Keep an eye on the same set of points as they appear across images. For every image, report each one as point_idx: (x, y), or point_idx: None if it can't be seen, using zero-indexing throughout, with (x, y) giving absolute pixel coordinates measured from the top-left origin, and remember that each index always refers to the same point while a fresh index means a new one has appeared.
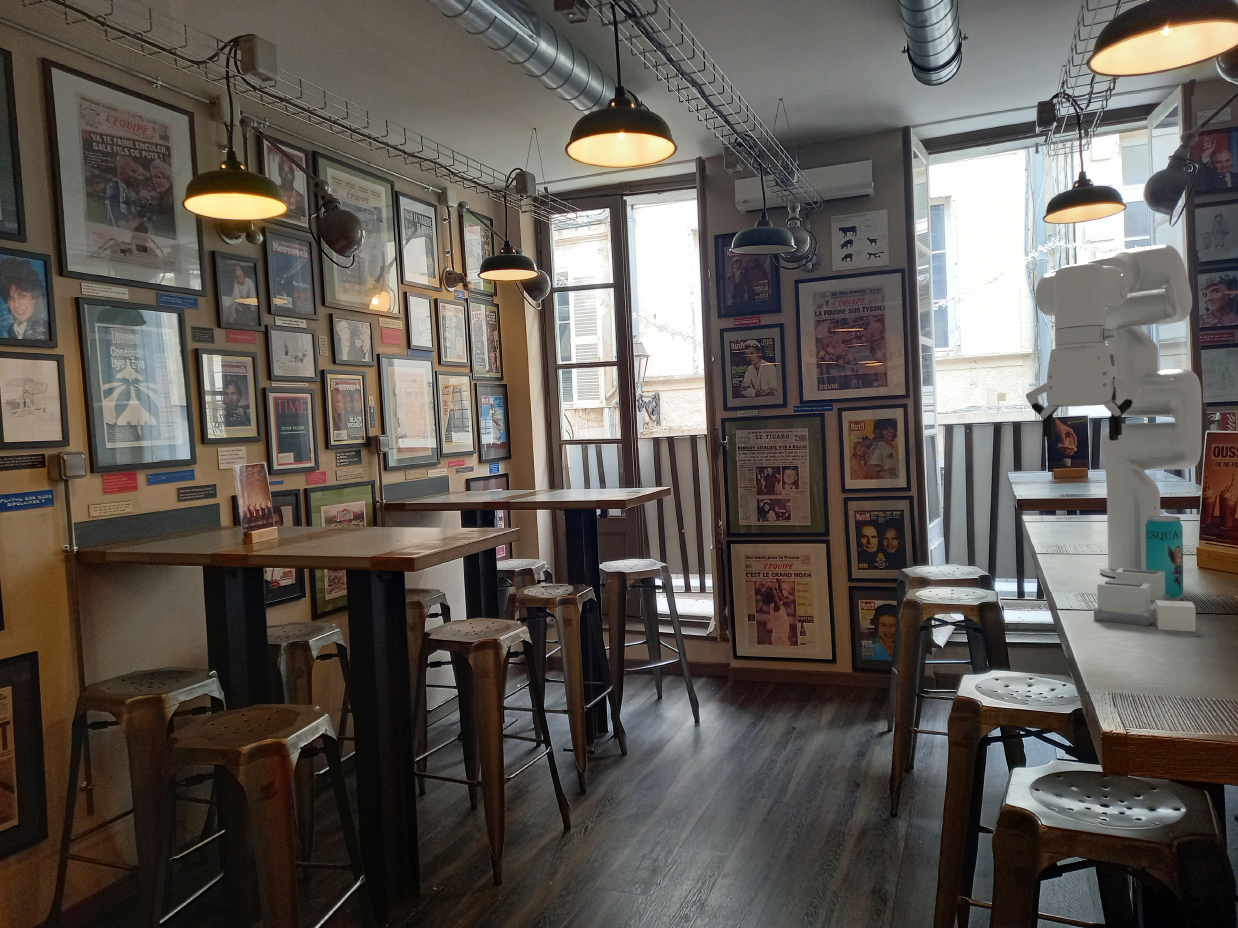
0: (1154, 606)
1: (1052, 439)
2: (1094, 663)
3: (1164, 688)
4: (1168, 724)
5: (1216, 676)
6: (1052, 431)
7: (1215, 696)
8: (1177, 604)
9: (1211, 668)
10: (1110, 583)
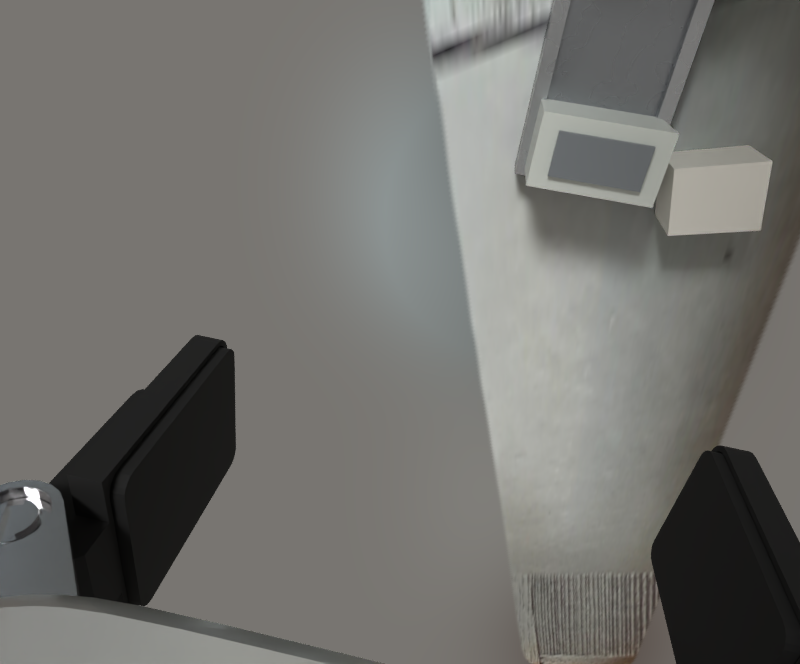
0: (677, 95)
1: (231, 431)
2: (513, 476)
3: (598, 552)
4: (583, 643)
5: None
6: (201, 475)
7: None
8: (721, 211)
9: (687, 462)
10: (562, 177)
